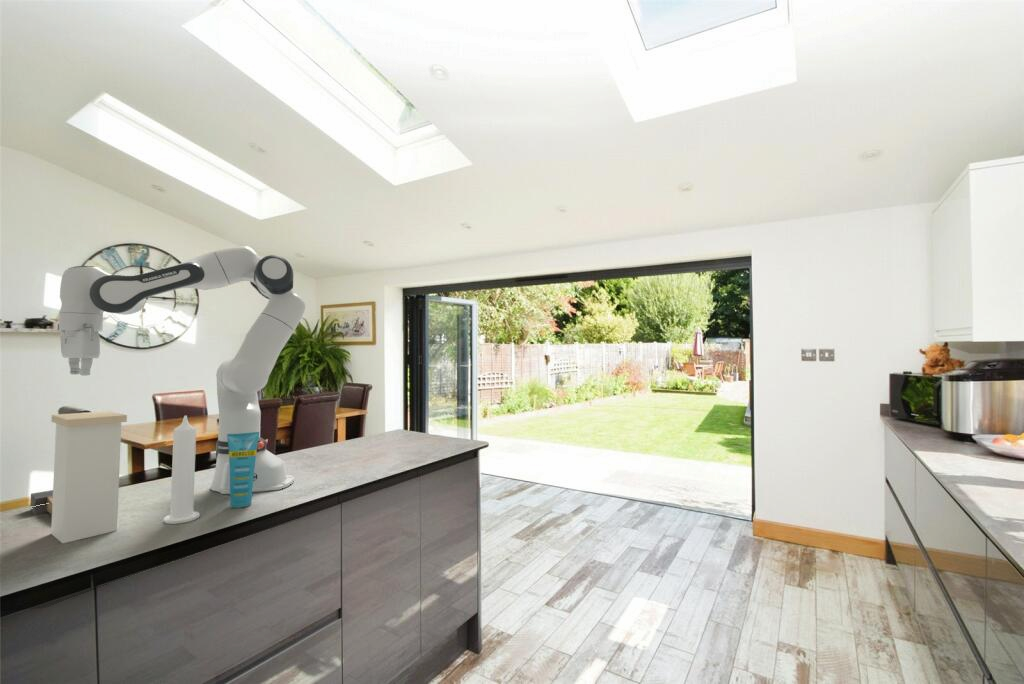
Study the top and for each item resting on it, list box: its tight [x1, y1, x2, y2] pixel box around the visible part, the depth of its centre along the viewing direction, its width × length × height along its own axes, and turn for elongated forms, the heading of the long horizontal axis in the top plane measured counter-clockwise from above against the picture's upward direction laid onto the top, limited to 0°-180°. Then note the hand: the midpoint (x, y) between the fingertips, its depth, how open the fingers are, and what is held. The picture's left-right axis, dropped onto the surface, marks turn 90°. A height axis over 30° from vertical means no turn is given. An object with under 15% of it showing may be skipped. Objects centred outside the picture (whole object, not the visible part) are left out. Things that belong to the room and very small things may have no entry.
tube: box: [227, 432, 259, 509], centre depth 123 cm, size 7×5×19 cm, turn 123°
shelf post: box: [50, 410, 128, 544], centre depth 104 cm, size 12×10×26 cm
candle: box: [163, 415, 200, 525], centre depth 113 cm, size 7×7×25 cm
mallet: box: [29, 489, 53, 516], centre depth 115 cm, size 7×18×4 cm, turn 55°
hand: (79, 374), depth 127 cm, fingers open, 8 cm apart
